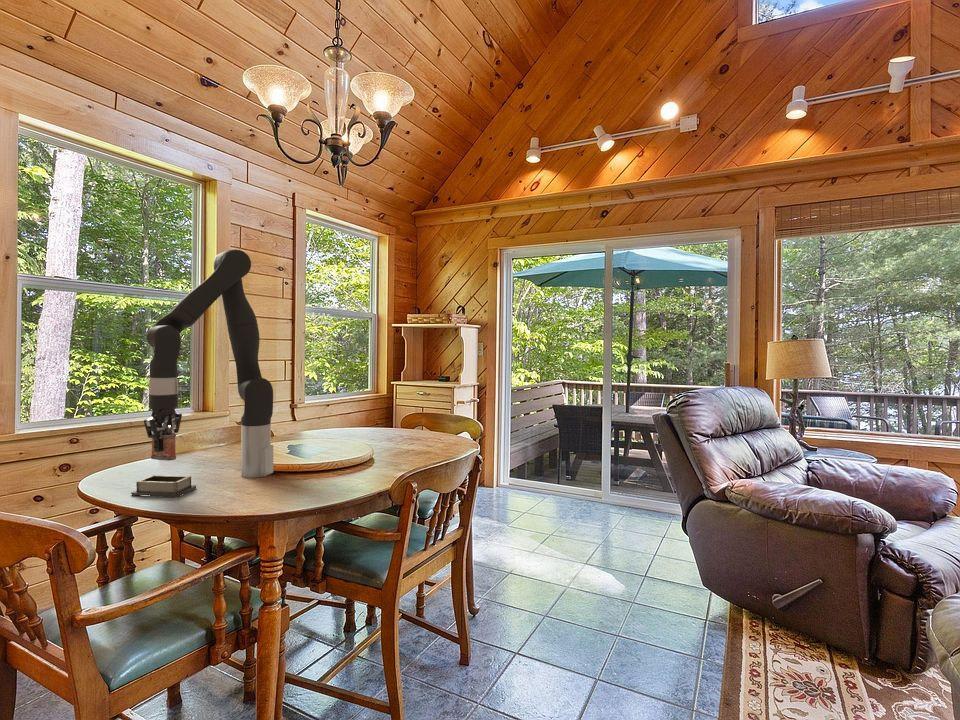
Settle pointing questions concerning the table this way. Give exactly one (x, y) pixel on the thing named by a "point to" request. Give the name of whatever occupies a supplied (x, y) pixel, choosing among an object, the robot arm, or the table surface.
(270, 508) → the table surface
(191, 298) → the robot arm
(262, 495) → the table surface
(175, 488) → the rectangular tray
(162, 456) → the lighter
